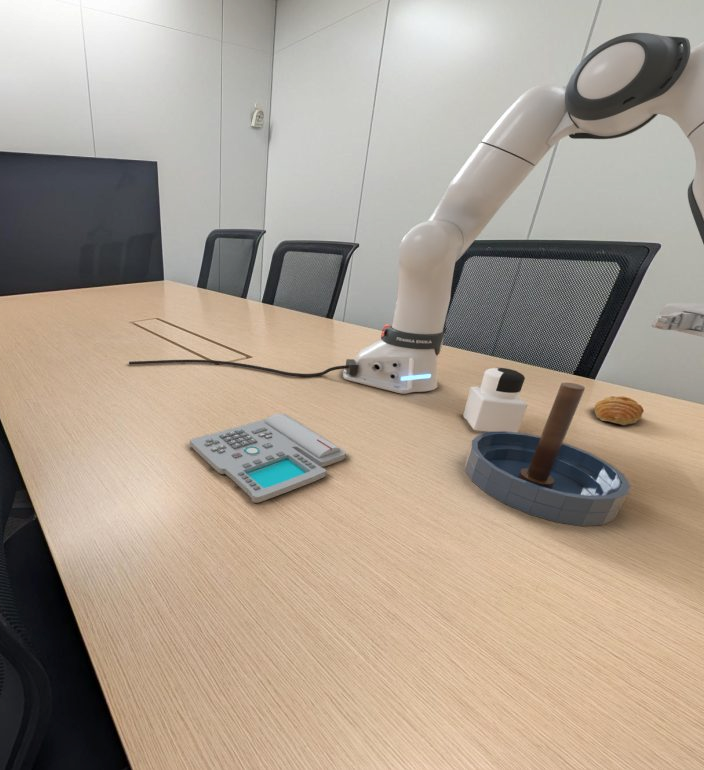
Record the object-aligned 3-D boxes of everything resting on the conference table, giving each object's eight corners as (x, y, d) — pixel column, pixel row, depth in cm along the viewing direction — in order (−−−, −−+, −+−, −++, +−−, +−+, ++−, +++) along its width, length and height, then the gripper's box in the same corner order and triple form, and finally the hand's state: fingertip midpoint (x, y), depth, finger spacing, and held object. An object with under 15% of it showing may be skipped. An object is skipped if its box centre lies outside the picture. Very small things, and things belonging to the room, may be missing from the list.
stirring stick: (518, 486, 57) (556, 387, 51) (516, 473, 60) (551, 378, 54) (553, 496, 55) (597, 393, 49) (548, 481, 58) (589, 383, 52)
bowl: (463, 498, 56) (472, 471, 54) (464, 445, 69) (471, 422, 67) (633, 549, 47) (651, 517, 45) (597, 476, 60) (609, 450, 58)
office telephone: (284, 407, 80) (362, 451, 64) (283, 418, 81) (359, 464, 65) (188, 433, 71) (251, 493, 54) (189, 445, 72) (250, 507, 55)
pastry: (636, 431, 72) (644, 414, 71) (587, 419, 77) (594, 403, 76) (640, 417, 78) (648, 400, 76) (594, 406, 83) (601, 390, 81)
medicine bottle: (502, 420, 78) (520, 366, 73) (516, 437, 72) (537, 379, 67) (462, 416, 80) (477, 363, 75) (473, 432, 74) (490, 375, 69)
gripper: (730, 291, 55) (627, 293, 56) (996, 323, 36) (833, 324, 37) (708, 333, 57) (610, 334, 58) (947, 384, 38) (795, 383, 39)
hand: (698, 330), depth 47 cm, fingers open, 8 cm apart
